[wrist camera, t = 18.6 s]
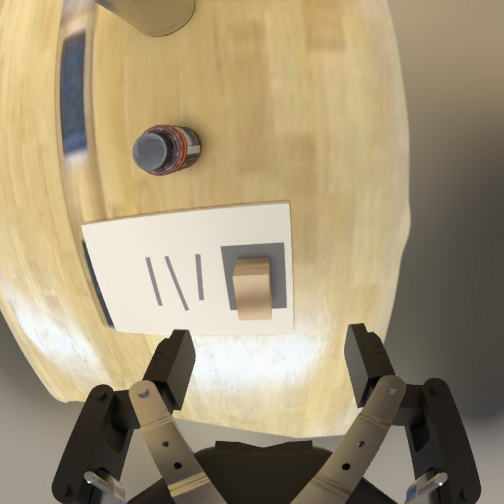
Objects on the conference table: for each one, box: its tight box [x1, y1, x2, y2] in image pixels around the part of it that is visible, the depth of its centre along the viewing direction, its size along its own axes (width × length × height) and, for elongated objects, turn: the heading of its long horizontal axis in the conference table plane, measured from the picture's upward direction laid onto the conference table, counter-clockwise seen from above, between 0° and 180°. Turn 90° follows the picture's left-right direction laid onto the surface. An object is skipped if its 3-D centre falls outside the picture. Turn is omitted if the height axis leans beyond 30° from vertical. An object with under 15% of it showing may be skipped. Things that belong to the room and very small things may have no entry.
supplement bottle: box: [133, 125, 201, 176], centre depth 30 cm, size 6×6×11 cm
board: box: [81, 201, 294, 336], centre depth 42 cm, size 22×34×2 cm, turn 95°
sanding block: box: [233, 256, 272, 320], centre depth 38 cm, size 7×4×6 cm, turn 5°
